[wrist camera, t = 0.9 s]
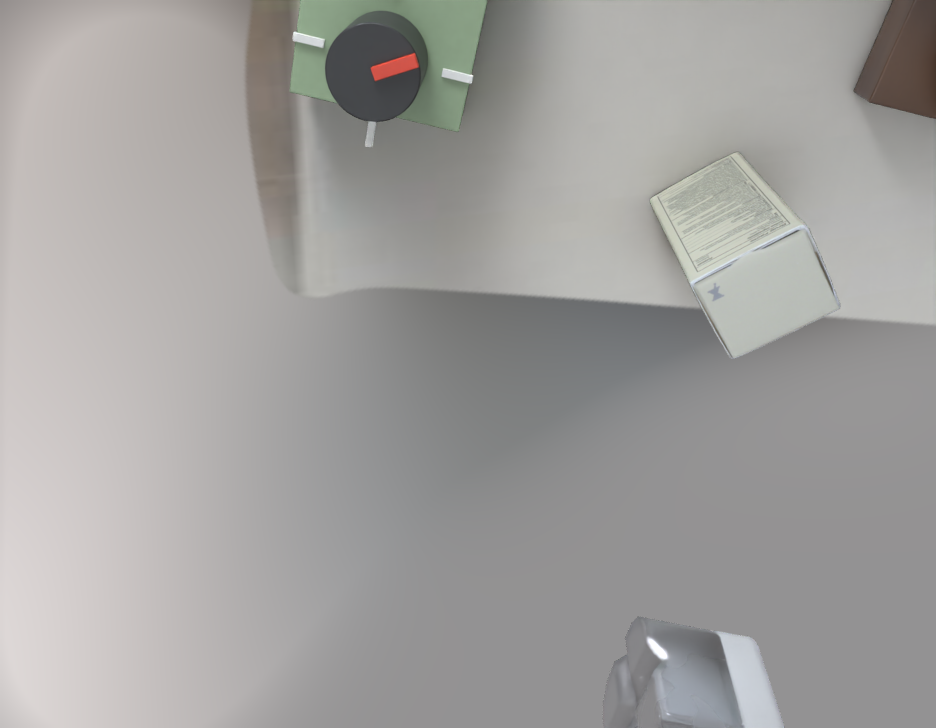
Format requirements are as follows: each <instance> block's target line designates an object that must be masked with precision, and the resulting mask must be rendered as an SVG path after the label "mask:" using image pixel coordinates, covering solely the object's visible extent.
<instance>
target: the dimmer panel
mask: <svg viewBox="0 0 936 728" xmlns="http://www.w3.org/2000/svg"><path fill="white" fill-rule="evenodd" d="M487 2H488V0H300V9H299V17H298V25H297V32H294V33H293V41H295V50H294V58H293V66H292V74H291V83H290V92H291V93H296V94H300V95H304V96H308V97H312V98H317V99H321V100H325V101H329V102H333V103H337V102H336V101H335V99H334V98H333V96H332V94H331V92H330V90H329V88H328V85H327V82H326V76H325V61H326V57H327V53H328V50H329V48H330V46H331V44H332V43H333V41H334V40H335V38H336V37H337V36H338V35H339V34H340V33H341V32H342V31H343V30H344V29H346V28H347V27H348V26H349V25H350V24H351V23H352V22H353V21H354V20H356V19H357V18H358V17H360V16H362V15H364V14H366V13H369V12H373V11H389V12H393V13H396V14H399V15H401V16H403V17H404V18H406V19H408V20H409V21H410V22H411V23H412V24H413V25H414V26H415V27H416V28H417V29H418V31H419V32H420V34H421V35H422V37H423V39H424V42H425V44H426V48H427V54H428V66H427V71H426V75H425V77H424V80H423V82H422V84H421V87H420V89H419V91H418V94H417V96H416V98H415V100H414V101H413V103H412V104H411V105H410V107H409V108H408V109H407V110H406V111H405V112H403V113H402V114H401V115H399V116H397V117H396V118H401V119H405V120H409V121H413V122H417V123H421V124H426V125H430V126H434V127H438V128H442V129H447V130H451V131H455V132H459V129H460V124H461V120H462V115H463V111H464V106H465V102H466V97H467V93H468V88H469V84H472V80H473V75H471V74H472V70H473V65H474V61H475V56H476V52H477V47H478V43H479V38H480V34H481V29H482V25H483V20H484V16H485V11H486V6H487ZM376 123H377V122H370V121H369V122H368V128H367V134H366V140H365V146H367V147H371V148H372V147H373V141H374V135H375V129H376Z"/></svg>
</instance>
